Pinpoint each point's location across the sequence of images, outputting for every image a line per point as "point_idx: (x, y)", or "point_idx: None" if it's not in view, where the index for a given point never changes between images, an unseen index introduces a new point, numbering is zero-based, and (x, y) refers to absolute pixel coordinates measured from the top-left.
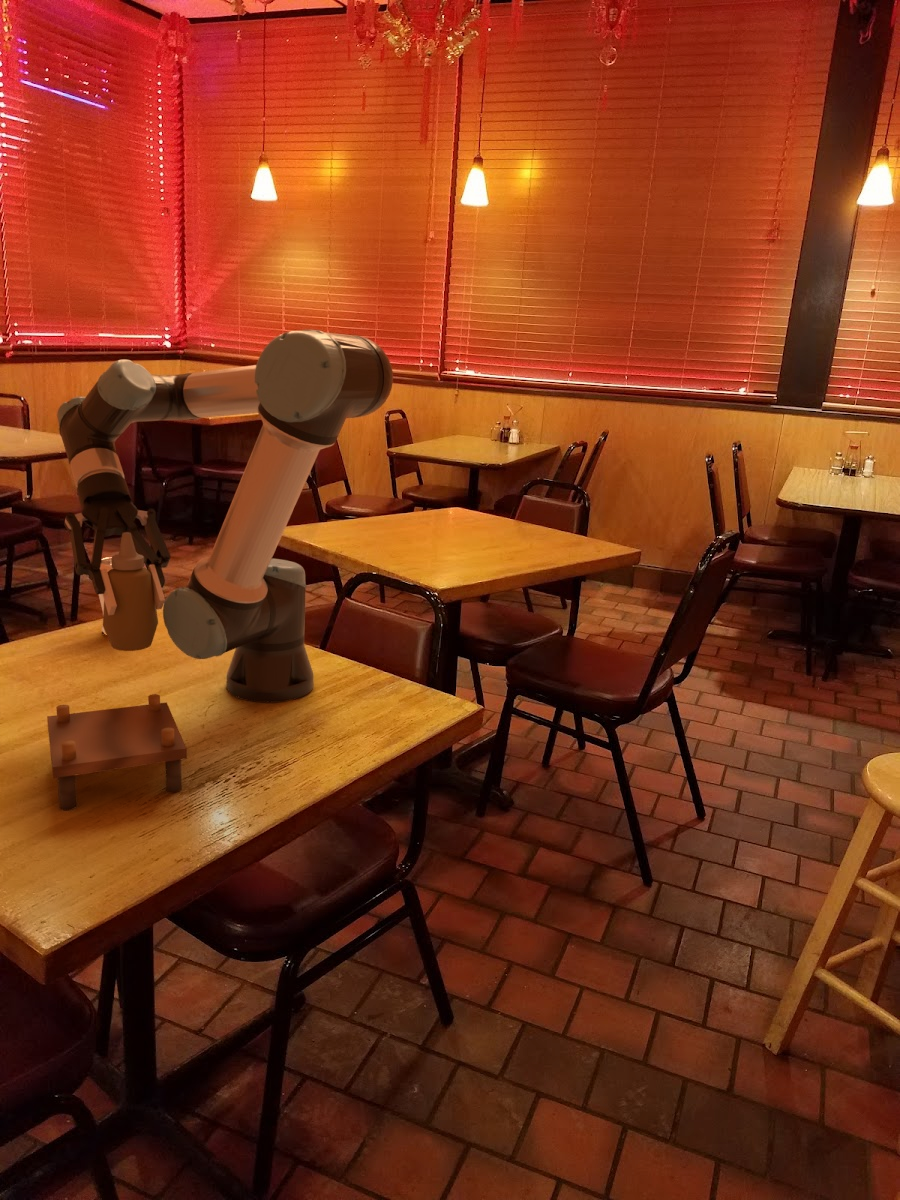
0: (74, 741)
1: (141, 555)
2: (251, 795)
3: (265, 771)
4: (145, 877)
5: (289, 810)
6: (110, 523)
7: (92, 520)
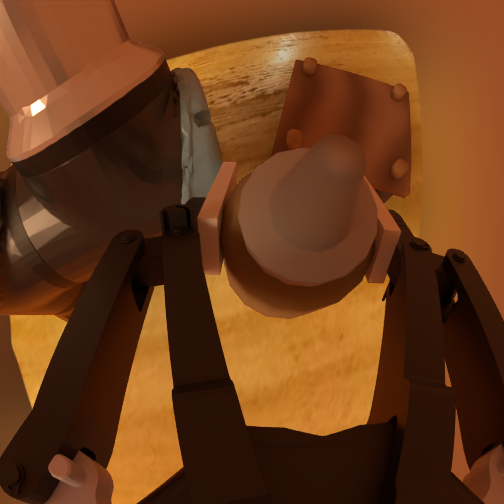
0: (396, 87)
1: (246, 205)
2: (248, 65)
3: (216, 88)
4: (347, 37)
5: (235, 44)
6: (358, 464)
7: (458, 479)
